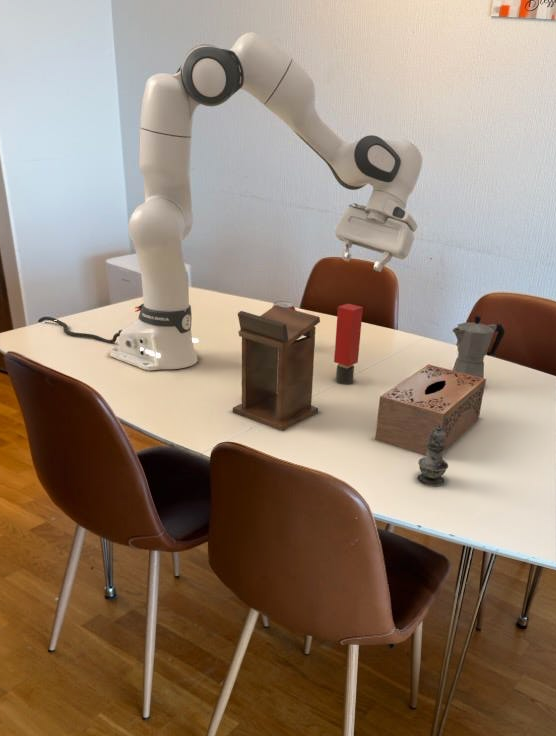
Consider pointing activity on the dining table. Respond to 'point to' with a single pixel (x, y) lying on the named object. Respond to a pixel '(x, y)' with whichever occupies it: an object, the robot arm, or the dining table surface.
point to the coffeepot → (475, 346)
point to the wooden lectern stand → (277, 366)
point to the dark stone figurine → (433, 459)
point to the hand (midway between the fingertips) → (360, 265)
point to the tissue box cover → (429, 408)
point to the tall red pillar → (347, 341)
